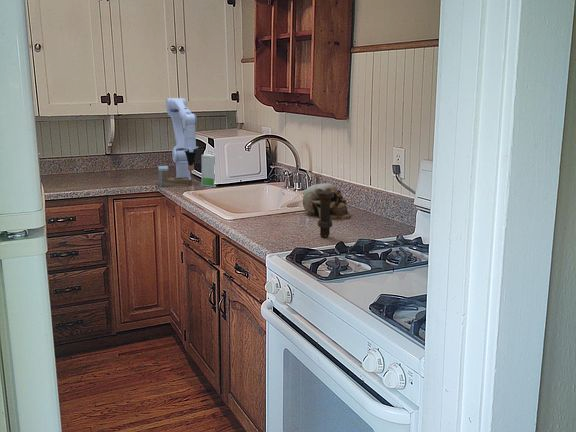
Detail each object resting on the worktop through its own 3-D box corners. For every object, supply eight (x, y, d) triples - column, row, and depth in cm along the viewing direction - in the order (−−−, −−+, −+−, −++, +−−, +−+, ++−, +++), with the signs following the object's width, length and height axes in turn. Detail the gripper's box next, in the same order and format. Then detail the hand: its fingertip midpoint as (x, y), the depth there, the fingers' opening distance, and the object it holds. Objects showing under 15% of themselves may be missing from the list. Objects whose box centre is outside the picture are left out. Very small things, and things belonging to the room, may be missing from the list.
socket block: (162, 183, 305) (162, 177, 304) (188, 182, 308) (188, 177, 307) (162, 186, 296) (162, 180, 295) (189, 185, 298) (189, 179, 298)
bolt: (313, 237, 196) (314, 192, 193) (318, 234, 200) (319, 190, 197) (331, 239, 194) (331, 193, 191) (335, 235, 198) (336, 191, 195)
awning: (159, 183, 305) (158, 166, 303) (168, 183, 306) (167, 165, 304) (159, 187, 295) (158, 168, 293) (169, 186, 296) (168, 168, 294)
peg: (187, 169, 306) (187, 154, 304) (193, 169, 306) (193, 153, 305) (188, 170, 303) (187, 154, 301) (194, 170, 303) (193, 154, 302)
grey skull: (352, 218, 224) (349, 183, 221) (306, 224, 223) (302, 188, 221) (346, 211, 239) (343, 178, 237) (303, 216, 238) (299, 183, 236)
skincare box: (201, 186, 298) (200, 154, 294) (208, 184, 303) (208, 153, 300) (215, 187, 294) (214, 155, 291) (222, 185, 300) (222, 154, 296)
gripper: (199, 139, 295) (199, 166, 298) (196, 136, 309) (197, 163, 312) (184, 139, 293) (185, 167, 296) (182, 137, 307) (183, 163, 310)
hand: (190, 165), depth 304 cm, fingers closed on peg, 3 cm apart
